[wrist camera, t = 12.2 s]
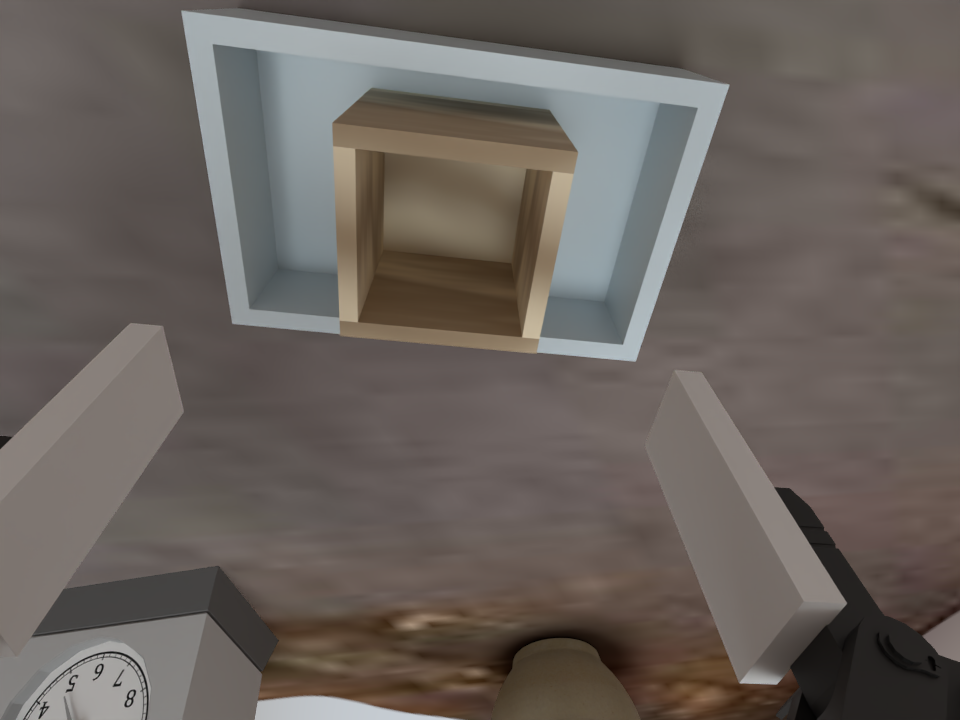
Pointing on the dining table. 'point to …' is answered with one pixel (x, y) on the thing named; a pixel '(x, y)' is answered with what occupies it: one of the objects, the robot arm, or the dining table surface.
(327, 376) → the dining table surface
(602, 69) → the light blue crate
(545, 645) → the planter bowl
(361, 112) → the birch crate
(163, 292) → the dining table surface
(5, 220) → the dining table surface
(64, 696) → the alarm clock
